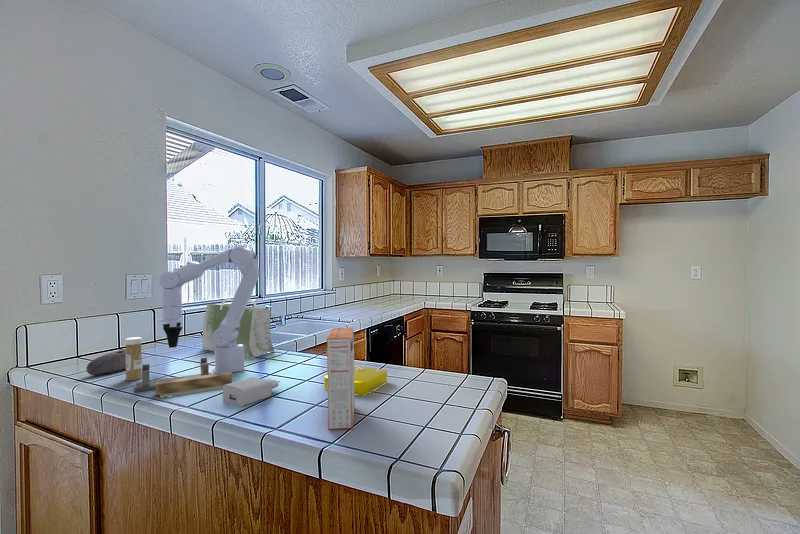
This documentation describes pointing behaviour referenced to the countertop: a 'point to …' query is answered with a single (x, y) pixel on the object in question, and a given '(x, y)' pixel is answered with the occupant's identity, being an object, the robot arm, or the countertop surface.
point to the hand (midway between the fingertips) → (172, 345)
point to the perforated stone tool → (108, 363)
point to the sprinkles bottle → (133, 358)
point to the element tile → (365, 379)
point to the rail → (193, 383)
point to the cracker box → (340, 378)
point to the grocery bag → (240, 328)
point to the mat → (192, 391)
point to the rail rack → (152, 384)
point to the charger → (248, 390)
